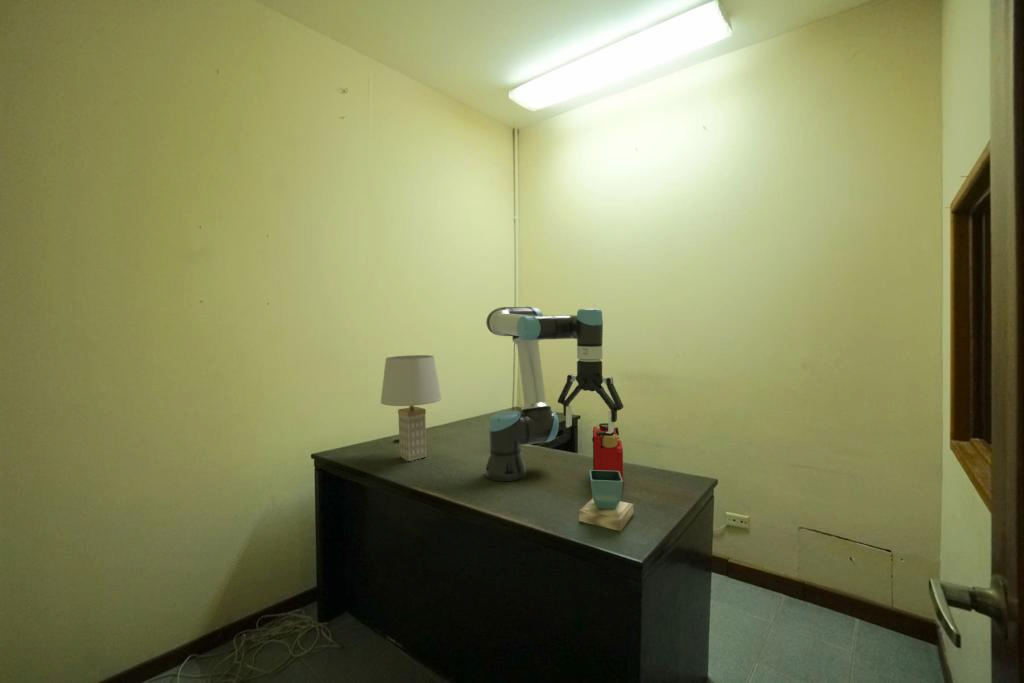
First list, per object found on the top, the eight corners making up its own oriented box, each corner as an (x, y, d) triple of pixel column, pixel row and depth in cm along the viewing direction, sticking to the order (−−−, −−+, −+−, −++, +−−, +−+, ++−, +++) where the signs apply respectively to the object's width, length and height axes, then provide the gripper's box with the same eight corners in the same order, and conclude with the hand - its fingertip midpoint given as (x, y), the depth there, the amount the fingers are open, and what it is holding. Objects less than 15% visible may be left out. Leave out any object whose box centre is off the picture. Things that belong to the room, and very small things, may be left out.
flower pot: (619, 500, 128) (619, 470, 127) (623, 513, 119) (623, 481, 119) (589, 499, 129) (589, 469, 129) (591, 511, 120) (590, 480, 120)
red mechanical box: (623, 488, 145) (622, 430, 144) (592, 487, 147) (592, 429, 146) (621, 473, 160) (620, 420, 160) (593, 471, 162) (592, 419, 162)
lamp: (372, 458, 185) (369, 357, 183) (423, 446, 202) (420, 354, 200) (400, 472, 166) (397, 360, 165) (454, 457, 183) (451, 356, 182)
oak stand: (579, 521, 122) (579, 509, 122) (594, 505, 132) (594, 495, 132) (620, 531, 116) (620, 519, 115) (633, 514, 126) (633, 502, 126)
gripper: (547, 359, 133) (547, 426, 134) (626, 363, 120) (626, 438, 121) (557, 356, 139) (557, 421, 140) (634, 360, 126) (633, 432, 127)
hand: (589, 429), depth 131 cm, fingers open, 13 cm apart
